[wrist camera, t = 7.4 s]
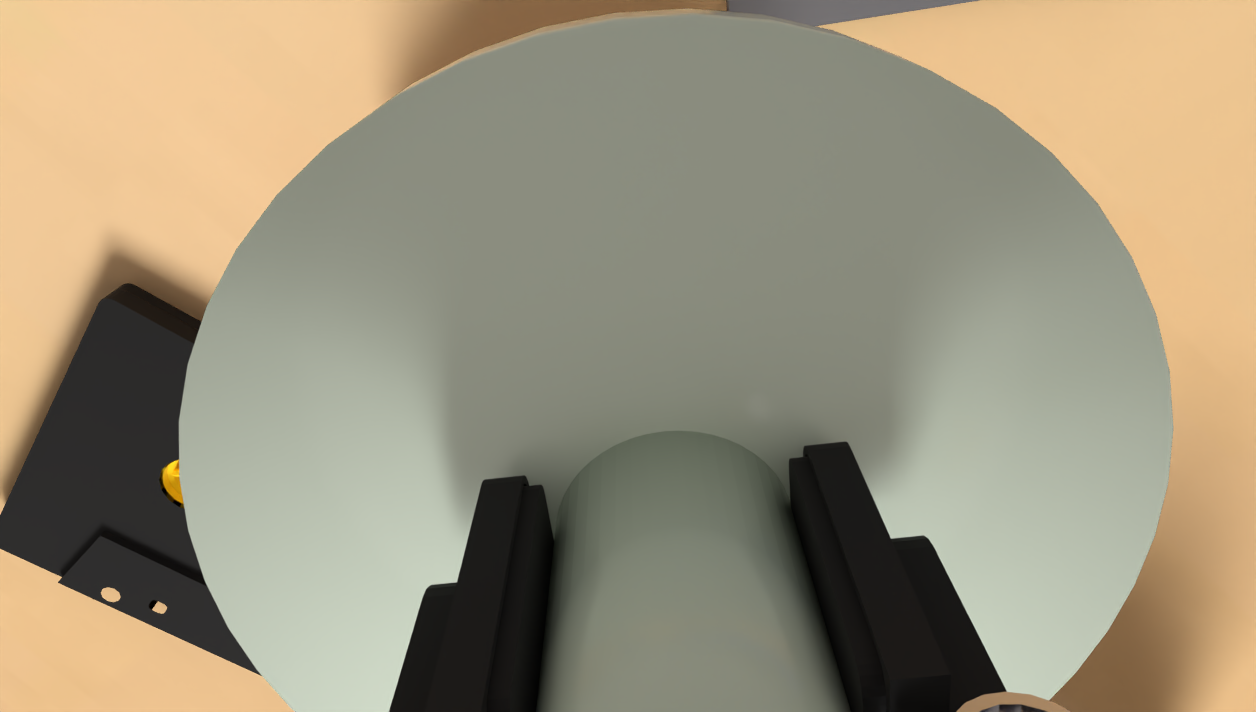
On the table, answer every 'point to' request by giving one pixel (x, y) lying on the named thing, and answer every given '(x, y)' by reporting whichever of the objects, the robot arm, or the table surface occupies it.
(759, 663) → the lid
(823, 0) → the mat
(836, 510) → the robot arm
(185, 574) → the cassette tape
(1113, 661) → the table surface
